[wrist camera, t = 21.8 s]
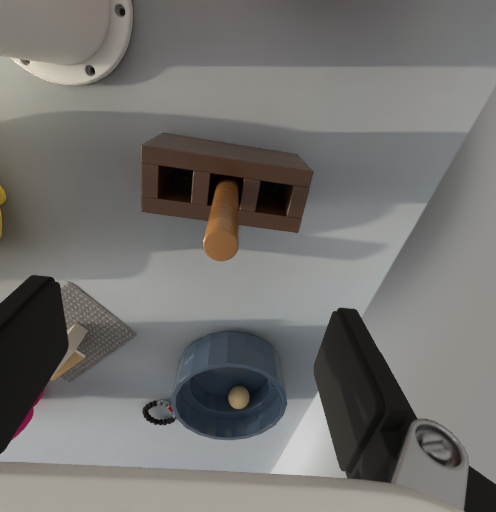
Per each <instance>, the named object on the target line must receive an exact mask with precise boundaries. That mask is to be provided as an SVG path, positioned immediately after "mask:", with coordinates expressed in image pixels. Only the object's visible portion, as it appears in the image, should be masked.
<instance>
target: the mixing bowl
mask: <svg viewBox="0 0 496 512" xmlns="http://www.w3.org/2000/svg"><path fill="white" fill-rule="evenodd" d="M235 386H243V387H245V388H246V389H247V390H248V392H249V402H248V404H247V405H246V407H244V408H242V409H235V408H233V407H232V406H231V405H230V403H229V400H228V395H229V392H230V390H231V389H232V388H233V387H235ZM286 406H287V399H286V392H285V386H284V380H283V373H282V367H281V360H280V358H279V356H278V354H277V353H276V351H275V350H274V348H273V347H272V346H270V345H269V344H268V343H266V342H265V341H264V340H262V339H260V338H257V337H255V336H252V335H249V334H246V333H239V332H221V333H214V334H210V335H208V336H206V337H203V338H201V339H199V340H197V341H195V342H194V343H193V344H192V345H191V346H189V347H188V348H187V349H186V350H185V352H184V353H183V355H182V357H181V359H180V361H179V365H178V369H177V374H176V378H175V383H174V388H173V392H172V402H171V407H172V409H173V412H174V414H175V416H176V418H177V419H178V420H179V421H180V422H181V423H182V424H183V425H184V426H185V427H186V428H187V429H189V430H191V431H193V432H194V433H196V434H198V435H201V436H205V437H209V438H212V439H219V440H237V439H245V438H250V437H253V436H255V435H258V434H261V433H263V432H265V431H267V430H268V429H270V428H271V427H273V426H274V425H276V423H277V422H278V421H279V420H280V419H281V417H282V416H283V415H284V412H285V409H286Z"/></svg>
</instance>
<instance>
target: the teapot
mask: <svg viewBox="0 0 496 512" xmlns="http://www.w3.org/2000/svg"><path fill="white" fill-rule="evenodd" d="M5 200H6V194H5V191H4V190H3V188H2V187H1V186H0V205H1V204H3V203H4V202H5ZM1 233H2V215H1V209H0V237H1Z"/></svg>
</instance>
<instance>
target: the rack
mask: <svg viewBox="0 0 496 512" xmlns="http://www.w3.org/2000/svg"><path fill="white" fill-rule="evenodd" d="M175 168H180V169H187V170H194V171H193V179H190V178H183V177H176V176H175ZM214 174H221V175H227V176H234V177H240V184H239V186H238V225H243V226H251V227H258V228H266V229H273V230H280V231H288V232H295V233H298V232H299V228H300V224H301V220H302V219H301V218H302V215H303V211H304V207H305V203H306V199H307V195H308V191H309V187H310V183H311V179H312V175H313V171H312V170H311V169H310V167H309V166H308V165H307V164H306V163H305V162H304V161H303V160H302V159H301V158H300V157H299V156H298V155H297V154H292V153H286V152H280V151H273V150H267V149H261V148H254V147H248V146H242V145H235V144H229V143H223V142H217V141H210V140H204V139H198V138H191V137H185V136H179V135H173V134H166V133H162V134H160V135H158V136H157V137H155V138H153V139H151V140H149V141H147V142H146V143H144V144H142V145H141V212H146V213H154V214H161V215H169V216H176V217H184V218H191V219H199V220H206V221H208V220H209V216H210V211H211V207H212V203H213V198H214V194H215V190H216V186H217V182H214ZM260 180H261V181H268V182H274V183H278V188H277V191H272V190H265V189H259V187H260V182H261V181H260Z"/></svg>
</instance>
